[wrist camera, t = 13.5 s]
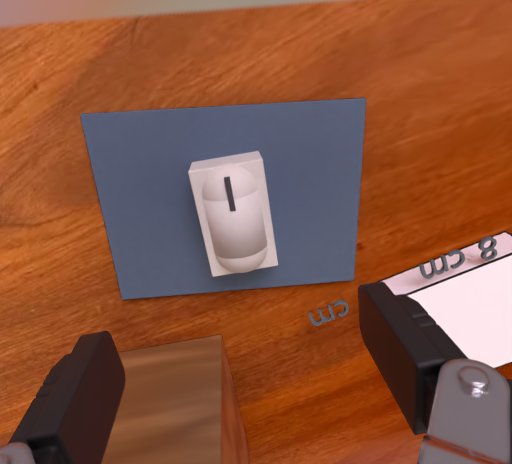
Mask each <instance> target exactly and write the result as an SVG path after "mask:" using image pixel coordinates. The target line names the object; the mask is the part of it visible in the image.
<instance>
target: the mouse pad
mask: <svg viewBox="0 0 512 464" xmlns="http://www.w3.org/2000/svg"><path fill="white" fill-rule="evenodd" d="M365 110H366V98H354V99H336V100H318V101H300V102H282V103H265V104H247V105H229V106H211V107H193V108H176V109H158V110H140V111H122V112H104V113H87V114H80V118H81V122H82V127H83V131H84V135H85V140H86V144H87V149H88V153H89V157H90V162H91V166H92V170H93V175H94V179H95V183H96V188H97V192H98V196H99V201H100V205H101V210H102V214H103V218H104V223H105V227H106V231H107V236H108V240H109V244H110V249H111V253H112V258H113V262H114V266H115V271H116V275H117V279H118V284H119V288H120V292H121V297H122V300H127V299H138V298H150V297H162V296H174V295H185V294H197V293H209V292H220V291H232V290H244V289H256V288H267V287H279V286H291V285H303V284H314V283H326V282H338V281H350V280H354V271H355V257H356V242H357V227H358V213H359V198H360V183H361V169H362V154H363V139H364V125H365ZM254 151H259V153H260V155H261V157H262V159H263V165H264V172H265V178H266V185H267V192H268V199H269V206H270V212H271V219H272V226H273V233H274V240H275V246H276V253H277V260H278V265H277V266H272V267H266V268H261V269H255V270H252V271H249V272H245V273H232V274H227V275H221V276H215V277H213V276H212V272H211V268H210V264H209V260H208V255H207V251H206V247H205V243H204V238H203V234H202V230H201V225H200V221H199V217H198V213H197V208H196V204H195V200H194V195H193V191H192V187H191V183H190V178H189V174H188V171H189V169H190V166H191V163H192V162H196V161H202V160H208V159H214V158H219V157H225V156H231V155H237V154H243V153H249V152H254Z"/></svg>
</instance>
